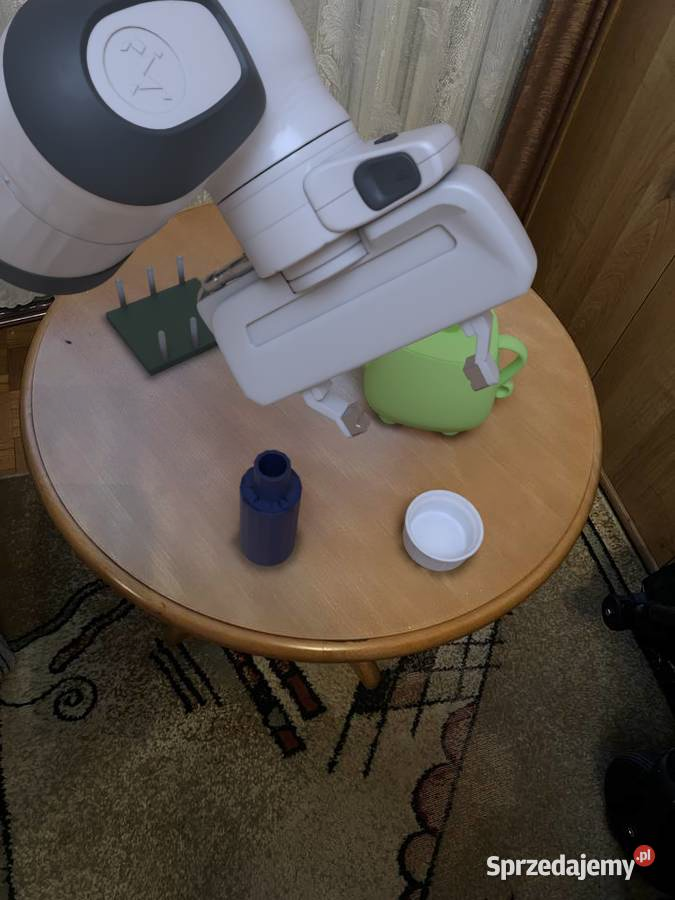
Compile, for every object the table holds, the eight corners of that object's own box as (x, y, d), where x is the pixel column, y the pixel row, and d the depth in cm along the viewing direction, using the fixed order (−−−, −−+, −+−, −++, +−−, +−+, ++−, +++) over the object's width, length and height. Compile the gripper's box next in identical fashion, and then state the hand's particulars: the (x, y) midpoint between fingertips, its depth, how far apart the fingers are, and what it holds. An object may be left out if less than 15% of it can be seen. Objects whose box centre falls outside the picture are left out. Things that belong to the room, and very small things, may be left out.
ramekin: (485, 564, 75) (498, 547, 71) (416, 586, 72) (425, 570, 69) (452, 499, 79) (462, 481, 76) (386, 518, 77) (393, 500, 73)
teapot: (500, 341, 96) (541, 254, 83) (500, 461, 83) (547, 380, 70) (333, 308, 95) (347, 216, 82) (308, 424, 83) (320, 336, 70)
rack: (150, 376, 84) (144, 342, 79) (106, 319, 89) (98, 283, 84) (242, 335, 90) (241, 300, 85) (196, 283, 95) (193, 247, 90)
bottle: (260, 576, 71) (264, 504, 58) (230, 535, 73) (227, 457, 60) (304, 547, 73) (318, 472, 60) (274, 509, 76) (280, 428, 62)
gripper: (159, 305, 40) (279, 480, 45) (460, 124, 30) (574, 375, 35) (206, 273, 45) (309, 433, 50) (478, 108, 35) (575, 329, 40)
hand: (420, 408), depth 42 cm, fingers open, 8 cm apart
